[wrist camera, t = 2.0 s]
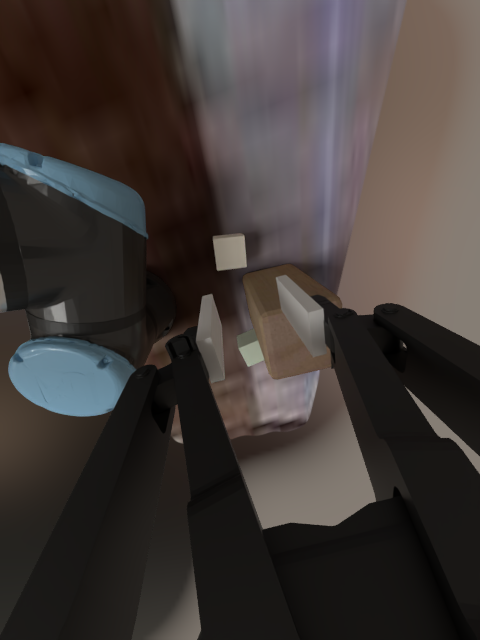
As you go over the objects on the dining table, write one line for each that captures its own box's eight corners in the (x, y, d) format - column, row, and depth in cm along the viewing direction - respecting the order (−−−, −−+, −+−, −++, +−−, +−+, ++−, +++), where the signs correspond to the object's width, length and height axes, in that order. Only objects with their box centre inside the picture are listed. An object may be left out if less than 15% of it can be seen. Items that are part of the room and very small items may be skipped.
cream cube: (216, 264, 43) (217, 270, 38) (213, 236, 40) (212, 239, 36) (243, 261, 43) (246, 267, 38) (241, 233, 41) (244, 235, 36)
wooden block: (296, 308, 48) (345, 367, 30) (250, 319, 48) (271, 384, 30) (291, 261, 44) (345, 297, 26) (240, 273, 44) (258, 317, 26)
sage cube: (245, 353, 52) (248, 366, 47) (236, 335, 50) (238, 348, 45) (265, 344, 51) (270, 357, 47) (257, 326, 49) (262, 338, 45)
